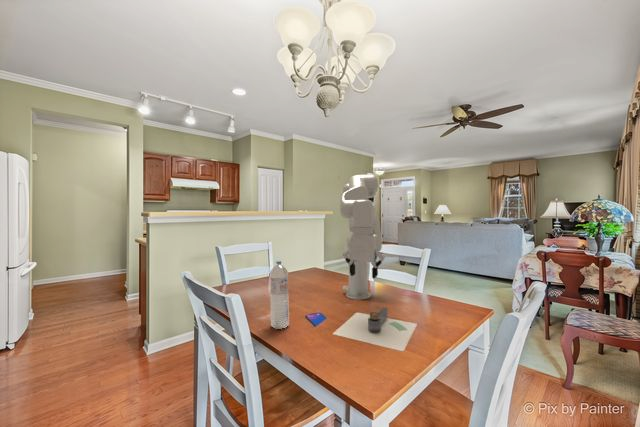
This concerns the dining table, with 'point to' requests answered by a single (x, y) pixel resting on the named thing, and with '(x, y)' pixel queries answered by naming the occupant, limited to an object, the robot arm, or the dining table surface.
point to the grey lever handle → (377, 320)
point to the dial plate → (390, 335)
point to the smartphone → (316, 318)
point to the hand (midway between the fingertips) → (363, 276)
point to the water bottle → (279, 296)
